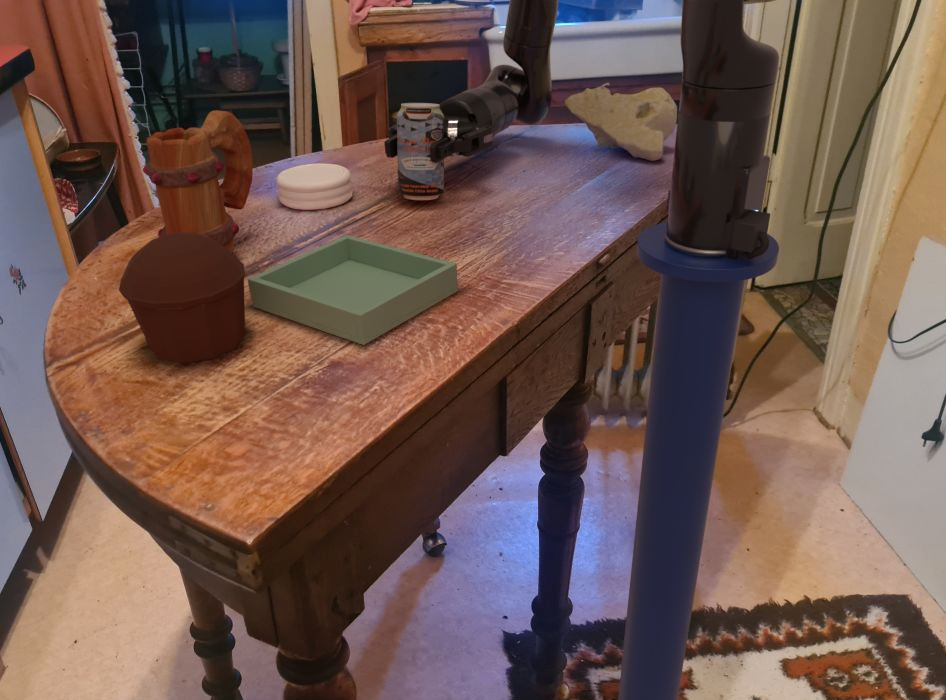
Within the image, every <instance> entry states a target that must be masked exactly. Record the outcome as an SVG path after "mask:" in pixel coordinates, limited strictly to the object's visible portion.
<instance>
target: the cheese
mask: <svg viewBox="0 0 946 700" xmlns="http://www.w3.org/2000/svg"><path fill="white" fill-rule="evenodd" d="M605 86H610V82H606V83H604V84H602V85H600V86H597V87H595V88H589V87H586V88H585V89H584V91H582V92H579V93H575V94H572V95H570V96H569V97H567V98H566V99H564V105H565V106H566V108H567V109H568V110H569V112H570V113H571V114H573V115H575V117H577V118H578V119H579V120H581V121H582V122H583V123H584V124H585V125H586V126H587V129H588V130H589V131H590V132H591V133H592V134H593V137H594V138H595V141H596V143H597V145H598V147H599V148H601V149H603V148H606V147H610V149H616V148H622V149H623V150H625V151H627V152H628V153H629V154H630V155H631V156H632V157H633V158H635V159H637V158H639V159H645V160H647V161H650V162H654V161H658V160H660V159H661V158H662V157H663V154H664V147H665V141H666V140H668V139H669V137H670V136H671V135H672V134H673V133H674V131H675V128H676V126H677V120H678V106H677V104H676V102H675V101H674V100H673V98H672V96H671V94H670V93H668V92H667V91H666V90H665V89H664V88H663V87H649V88H646V89H644V90H642V91H640V92H637V93H633V94H631V93H630V94H629V93H628V94H625V93H623V94H621V93H618V92H615V93H614V94H611V91H610V89H609V88H607V87H605Z"/></svg>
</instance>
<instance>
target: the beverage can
mask: <svg viewBox="0 0 946 700" xmlns="http://www.w3.org/2000/svg"><path fill="white" fill-rule="evenodd" d="M396 124H397V152H398V155H397V184H398V185H397V192H398V193H399V194H401V195H403V198H404V199H407V200H412V201H433V200H437V199H438V198H439V197H440V196H441V195H442V194H444V192H445V159H443V160H441V161H439V162H438V163H435V162H431V156H430V146H431V144H433V143H435V142H437V141H439V140H441V139H443V138H444V115H443V113H442V111H441V110H440V103H439V104H438V103H431V102H405V103H401V104H400V109H399V110H398V112H397V115H396Z"/></svg>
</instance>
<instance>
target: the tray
mask: <svg viewBox="0 0 946 700" xmlns="http://www.w3.org/2000/svg"><path fill="white" fill-rule="evenodd" d="M247 283H248V289H249V294H250V301H251V304H252V308H255V309H258V310H262V311H264V312H267V313H270V314H273V315H275V316H279V317H282V318H284V319H287V320H290V321H293V322H296V323H299V324H302V325H304V326H307V327H310V328H313V329H315V330H318V331H322V332H325V333H327V334H330V335H333V336H336V337H338V338H342V339H344V340H347V341H350V342H354V343H356V344H359V345H362V346H366V345H367V344H369V343H370V342H372V341H374V340H375V339H377V338H379V337H381V336H383V335H384V334H387V333H388V332H390V331H391V330H393V329H395V328H397V327H399V326H400V325H402V324H403V323H405V322H407V321H408V320H410V319H412V318H414V317H416V316H417V315H419V314H420V313H423V312H424V311H426V310H428V309H430V308H431V307H433V306H435V305H436V304H438V303H440V302H441V301H443V300H445V299H447V298H449V297H450V296H452V295H455V294H456V293H457V292H458V291H459V287H458V286H459V285H458V265H457V263H456V262H452V261H448V260H446V259H445V260H444V259H440V258H437V257H432V256H428V255H426V254H422V253H417V252H413V251H411V250H406V249H402V248H400V247H394V246H391V245H387V244H383V243H379V242H376V241H372V240H367V239H364V238H360V237H356V236H352V235H348V234H346V235H344V236H341V237H339V238H337V239H334V240H332V241H330V242H328V243H326V244H322V245H320V246H319V247H316V248H314V249H312V250H310V251H307V252H305V253H302V254H300V255H298V256H296V257H294V258H292V259H289V260H287V261H285V262H282V263H280V264H278V265H276V266H273V267H270V268H269V269H267V270H264V271H262V272H259V273H257V274H255V275H253V276H251V277H248V278H247Z"/></svg>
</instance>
